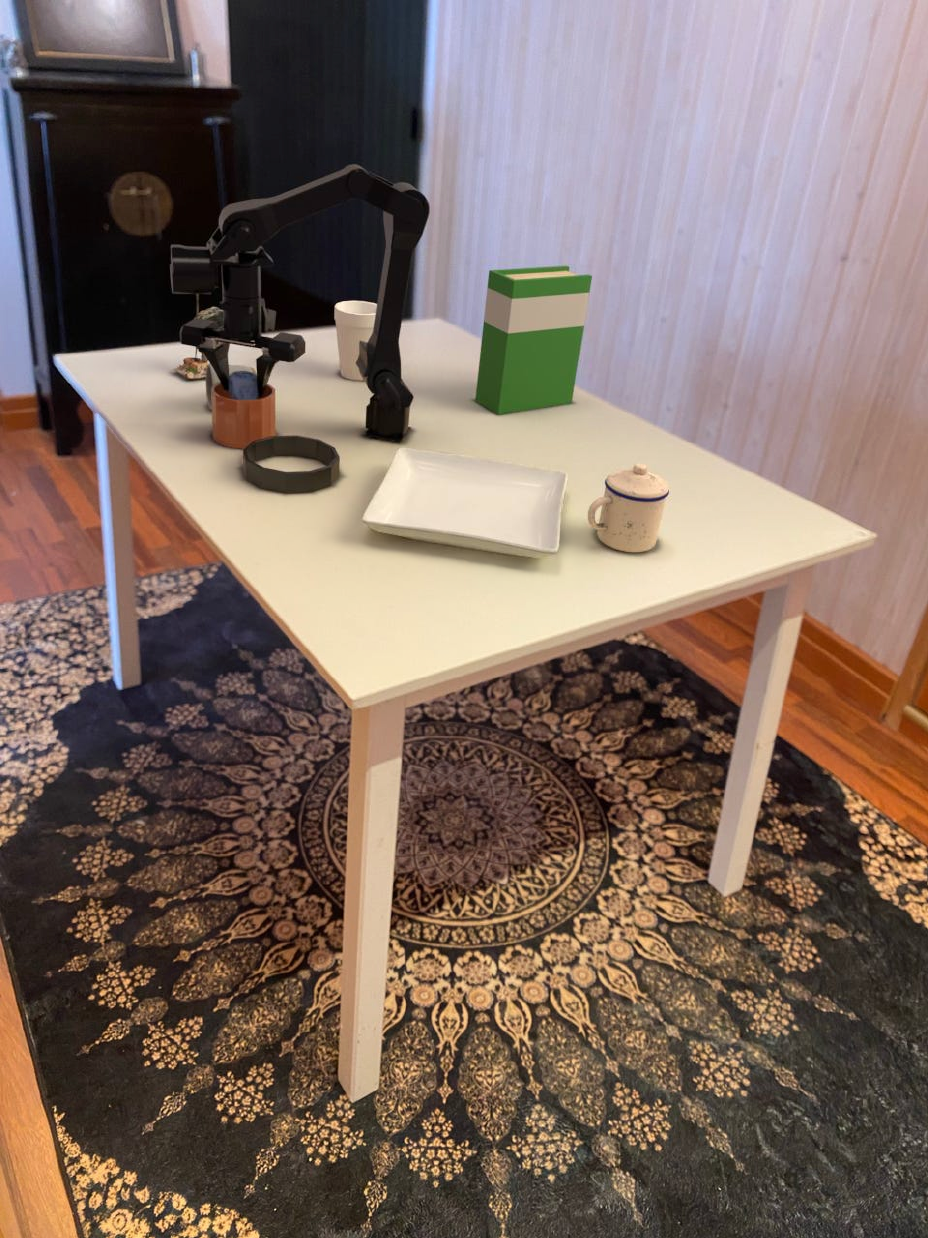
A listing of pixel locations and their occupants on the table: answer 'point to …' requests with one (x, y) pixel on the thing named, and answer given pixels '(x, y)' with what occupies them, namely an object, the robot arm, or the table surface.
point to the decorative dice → (243, 385)
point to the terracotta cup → (242, 417)
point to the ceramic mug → (213, 378)
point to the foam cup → (353, 333)
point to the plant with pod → (197, 365)
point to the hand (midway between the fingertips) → (244, 392)
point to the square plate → (470, 503)
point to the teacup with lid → (630, 509)
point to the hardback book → (531, 338)
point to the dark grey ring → (290, 480)
